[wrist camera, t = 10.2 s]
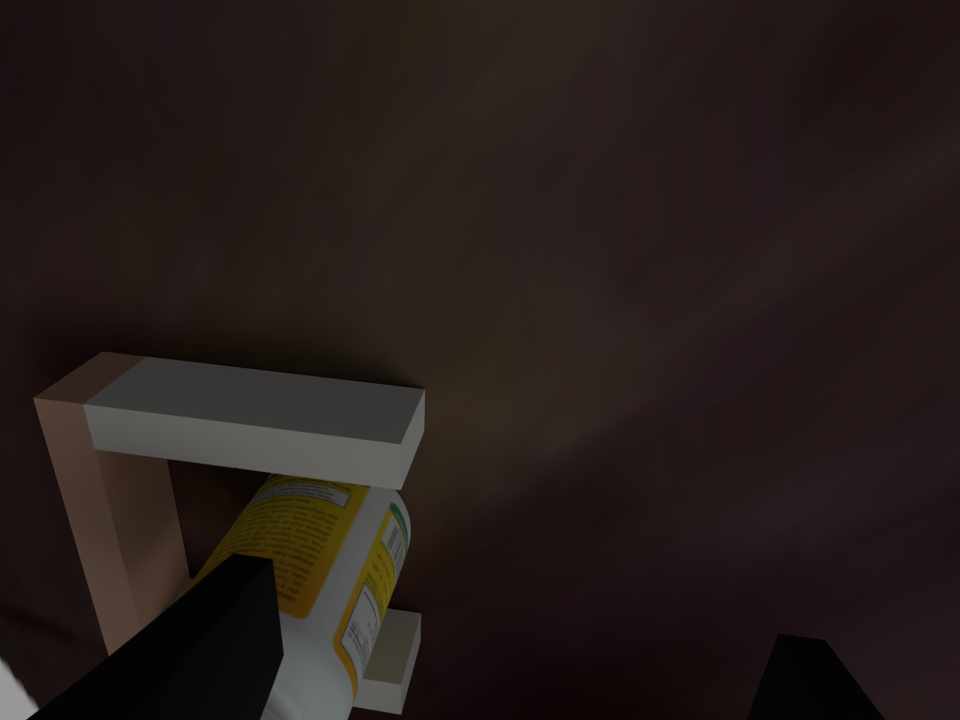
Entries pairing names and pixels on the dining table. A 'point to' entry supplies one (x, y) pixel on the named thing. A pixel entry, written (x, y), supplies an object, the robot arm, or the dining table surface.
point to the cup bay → (223, 442)
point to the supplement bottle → (322, 583)
